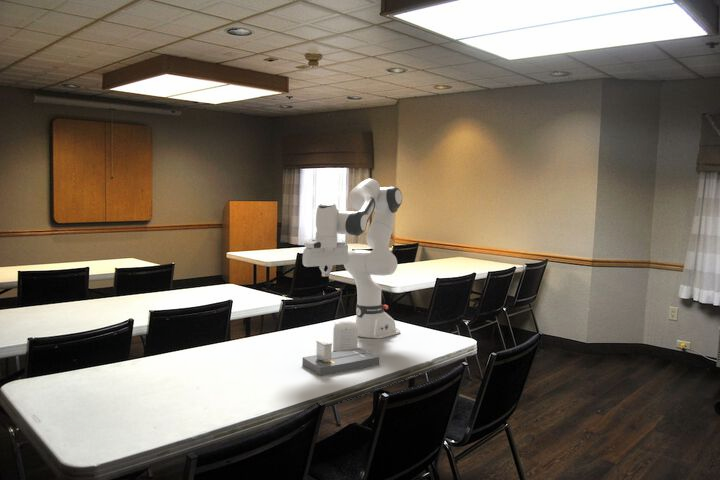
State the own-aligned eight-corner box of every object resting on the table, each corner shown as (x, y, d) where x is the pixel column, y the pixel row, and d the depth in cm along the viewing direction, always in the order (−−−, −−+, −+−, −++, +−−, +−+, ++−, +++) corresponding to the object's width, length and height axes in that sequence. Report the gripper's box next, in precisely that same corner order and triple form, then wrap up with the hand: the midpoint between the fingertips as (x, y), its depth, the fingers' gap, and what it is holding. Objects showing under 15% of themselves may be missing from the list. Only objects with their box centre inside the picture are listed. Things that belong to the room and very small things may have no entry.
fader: (323, 356, 206) (323, 339, 206) (331, 360, 201) (331, 343, 200) (316, 357, 204) (316, 340, 204) (324, 362, 199) (324, 344, 199)
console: (359, 354, 220) (359, 347, 220) (379, 364, 208) (379, 356, 208) (302, 365, 206) (302, 357, 206) (320, 376, 194) (320, 367, 194)
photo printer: (356, 348, 228) (357, 320, 227) (358, 351, 224) (358, 322, 223) (332, 349, 227) (332, 320, 226) (333, 352, 223) (333, 323, 222)
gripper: (344, 241, 230) (343, 273, 231) (300, 243, 219) (300, 276, 220) (351, 242, 225) (351, 275, 226) (307, 244, 214) (307, 279, 215)
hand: (325, 276), depth 223 cm, fingers closed
